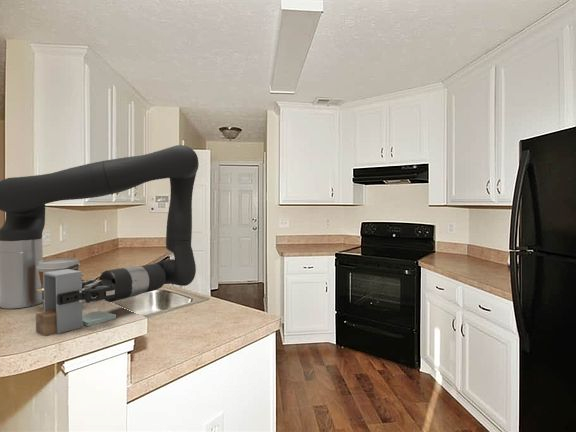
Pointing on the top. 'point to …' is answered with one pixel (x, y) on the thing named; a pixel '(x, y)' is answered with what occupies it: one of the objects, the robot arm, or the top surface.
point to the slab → (96, 317)
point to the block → (46, 322)
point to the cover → (57, 284)
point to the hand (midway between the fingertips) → (50, 297)
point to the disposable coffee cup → (55, 265)
